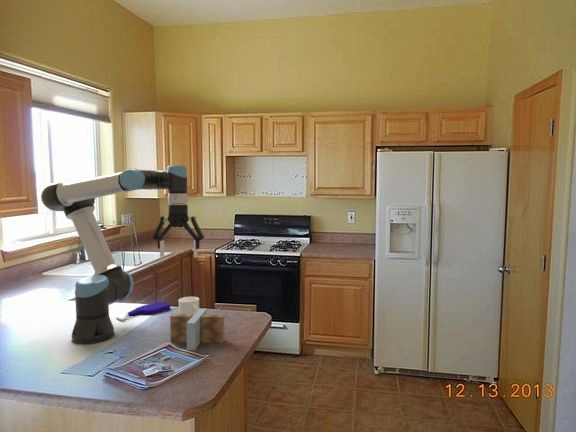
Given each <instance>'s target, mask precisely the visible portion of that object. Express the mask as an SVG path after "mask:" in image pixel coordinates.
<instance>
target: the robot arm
mask: <svg viewBox="0 0 576 432" xmlns="http://www.w3.org/2000/svg"><path fill="white" fill-rule="evenodd" d="M188 178H189V177H188V168H187V167H186V166H185V165H182V164H181V165H178V164H174V165H168V166H167V170H152V169H138V168H128V169H124V170H123V171H121V172H116V173H112V174H107V175H102V176H97V177H92V178H87V179H83V180H77V181H73V182H67V181H60V182H52V183H49V184H47V185H46V186H45V187H44V188H43V189H42V191H41V195H40V198H41V202H42V204H43V205H44V207H45V208H47V209H48V210H51V211H54V212H64V213H63V214H64V216H65V217H66V219H68V220H71V221H72V224H73V226H74V227H75V229H76V232H77V234H78V236H79V239H80V242H81V243H82V246H83V248H84V250H85V253H86V255H87V257H88V259H89V262H90V263H91V264H90V265H92V268H93V271H94V273H93V274H92V275H90V276H89V275H88V276H85V277H82V278H80V279H79V280H77V281H76V282H75V289H74V295H75V297H74V298H75V316H76V317H75V323H74V324H73V325H74V326H73V329H72V332H71V341H72V342H73V343H75V344H81V345H82V344H83V345H85V344H86V345H88V344H96V343H97V344H98V343H101V342H105V341H107V340H110V339H111V338H112V337H115V328H114V325H113V322H112V319H111V317H110V305H112V304H114V303H117V302H120V301H122V300H124V299H127V297H128V296H130V295H131V294H132V291H133V289H134V287H135V286H134V278H133V276H132V275H131V273H129V272H127V271H124V270H123V267H122V266H121V265H120V264H119V263H116V261H115V260H114V257H113V254H112V252H111V250H110V247H109V246H108V243H107V240H106V238H105V237H104V234H103V232H102V230H101V228H100V225H99V223H98V221H97V219H96V216H95V215H94V214H95V213H94V212H95V209H96V207H95V203H96V201H95V200H96V199H98V198H102V197H106V196H112V195H117V194H121V193H126V192H131V191H139V190H167V202H168V204H169V205H167V208H168V212H167V214H168V215H167V216H165V215H162V216H160V218H159V219H160V220H159V223H158V225H157V227H156V230H155V232H154V233H153V236H152V239H153V240H156V241H157V249H159V258H163V257H165V240H164V237H166V236H167V234H168V233H169V232H170V230H171V229H172V228H174V229H175V228H180V229H181V228H184V229H185V230H186V231H187V233H189V235H190V236H191V237H192V239H194V241H193V243H192V245H193V258H194V259H195V258H197V257H198V250H199V249H200V247H201V246H200V245H201V244H200V241H202V240H204V239H205V235H204V233H203V232H202V230H201V228H200V226H199V224H198V222H197V216H195V215H194V216H193V215H192V216H189V211H188V209H189V208H188V205H187V204H188V200H189V199H188ZM167 221H168V225H167V226H166V227H165V229H164V230H163V231H162V229H163V227H164V225H165V223H166V222H167ZM188 222H190V223H191V224H192V226H193V228H194V230H195V231H196V232H195V231H194V230H193V229H192V228H191V226H190V225H189V223H188Z"/></svg>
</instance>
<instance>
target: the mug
mask: <svg viewBox="0 0 576 432" xmlns="http://www.w3.org/2000/svg"><path fill="white" fill-rule="evenodd" d="M199 309H200V298H199V297H197V296H184V297H181V298H179V299H178V314H193V315H194V314H195V313H196V312H197V311H198V310H199Z"/></svg>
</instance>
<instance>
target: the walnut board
mask: <svg viewBox="0 0 576 432" xmlns="http://www.w3.org/2000/svg"><path fill="white" fill-rule="evenodd" d="M192 316H193V314H179V313H172V314H171V315H170V316H169V317H170V318H169V319H170V321H169V322H170V342H171V343H187V326H186V323H187V322H188V321H189V320H190V319H191V318H192ZM224 342H225V314H208V313H207V314H204V315H203V316H202V328H201V329H200V344H202V343H203V344H205V343H206V344H223V343H224Z"/></svg>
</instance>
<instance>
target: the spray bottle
mask: <svg viewBox="0 0 576 432" xmlns="http://www.w3.org/2000/svg"><path fill="white" fill-rule="evenodd" d="M170 310H171V305H170V304H169V303H166V302H163V301H157V302H153V303H148V304H145V305H141V306H138V307H136V308H135V309H133V310H130V311H128V312H126V313H123V314H122V313H121V314H116V316H115V318H116V319H117V320H119V321H120V322H121V321H122V322H125V321H126V320H128V319H133V318H134V317H136V315H137V316H141V315H142V316H153V314H154V315H157V313H158V314H162V313H164V312H167V311H170ZM161 312H162V313H161ZM132 316H133V317H132Z"/></svg>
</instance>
